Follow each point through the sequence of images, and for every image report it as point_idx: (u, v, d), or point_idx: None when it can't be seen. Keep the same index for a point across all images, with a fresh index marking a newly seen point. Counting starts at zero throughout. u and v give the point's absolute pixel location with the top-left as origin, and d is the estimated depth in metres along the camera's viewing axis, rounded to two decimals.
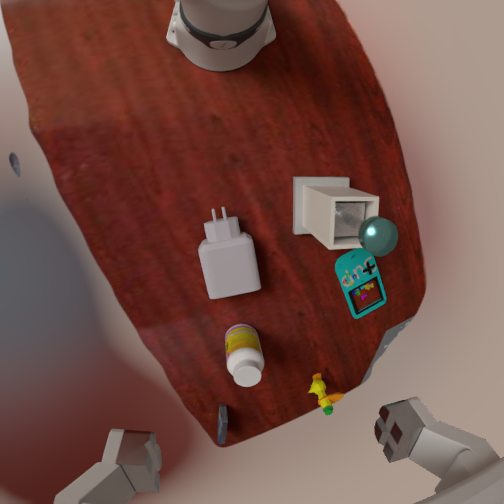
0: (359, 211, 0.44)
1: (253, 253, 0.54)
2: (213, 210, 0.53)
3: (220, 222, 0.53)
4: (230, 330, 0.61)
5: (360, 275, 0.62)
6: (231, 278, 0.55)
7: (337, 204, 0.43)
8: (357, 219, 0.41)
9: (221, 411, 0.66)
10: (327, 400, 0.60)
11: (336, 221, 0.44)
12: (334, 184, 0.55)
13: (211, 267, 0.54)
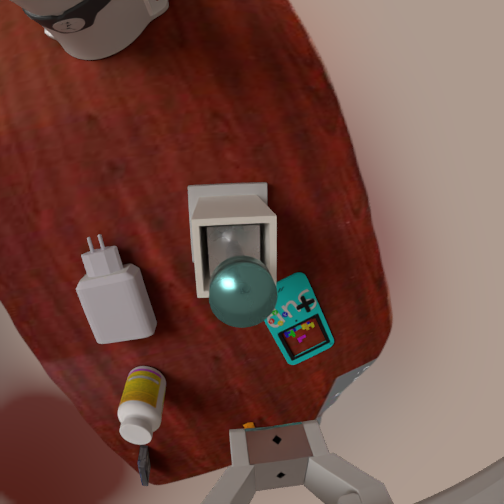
0: (250, 238, 0.30)
1: (136, 292, 0.40)
2: (88, 239, 0.39)
3: (95, 254, 0.39)
4: (130, 373, 0.47)
5: (294, 312, 0.48)
6: (114, 322, 0.41)
7: (212, 229, 0.29)
8: (233, 254, 0.27)
9: (140, 453, 0.52)
10: None
11: (213, 254, 0.30)
12: (244, 193, 0.40)
13: (90, 308, 0.40)
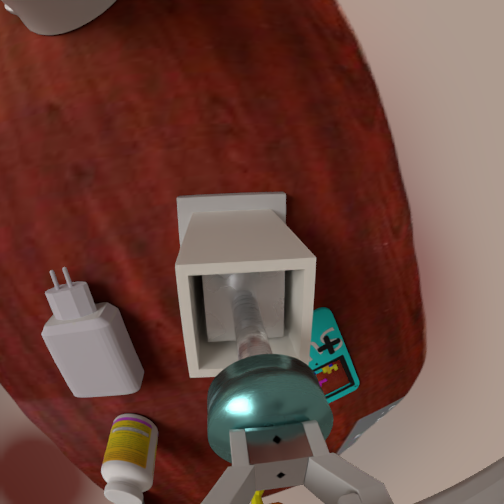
0: (271, 286, 0.19)
1: (114, 343, 0.30)
2: (51, 273, 0.28)
3: (61, 293, 0.28)
4: (115, 421, 0.36)
5: (314, 355, 0.37)
6: (91, 375, 0.30)
7: None
8: (246, 323, 0.16)
9: None
10: None
11: (212, 311, 0.19)
12: (255, 207, 0.30)
13: (60, 358, 0.29)
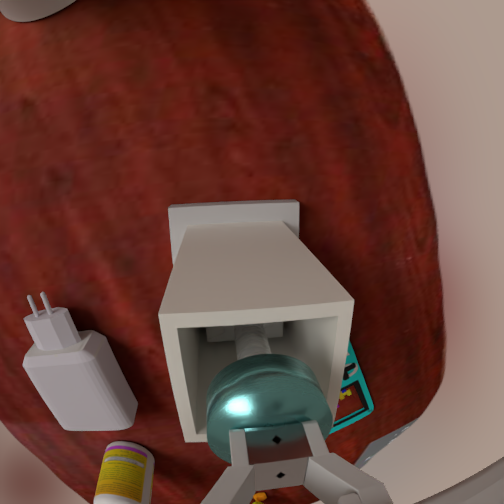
0: None
1: (102, 377, 0.25)
2: (29, 298, 0.24)
3: (40, 321, 0.23)
4: (108, 449, 0.31)
5: None
6: (78, 409, 0.25)
7: None
8: None
9: None
10: None
11: None
12: (262, 219, 0.25)
13: (44, 391, 0.24)
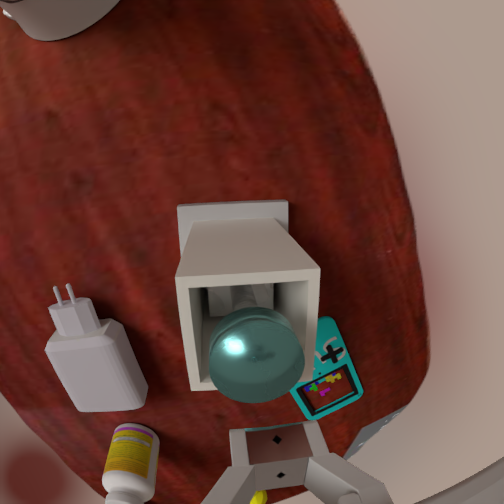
0: None
1: (119, 360, 0.29)
2: (55, 289, 0.28)
3: (64, 309, 0.28)
4: (116, 431, 0.35)
5: (317, 364, 0.36)
6: (95, 391, 0.30)
7: None
8: (240, 294, 0.20)
9: None
10: None
11: (213, 289, 0.23)
12: (257, 216, 0.29)
13: (64, 373, 0.29)
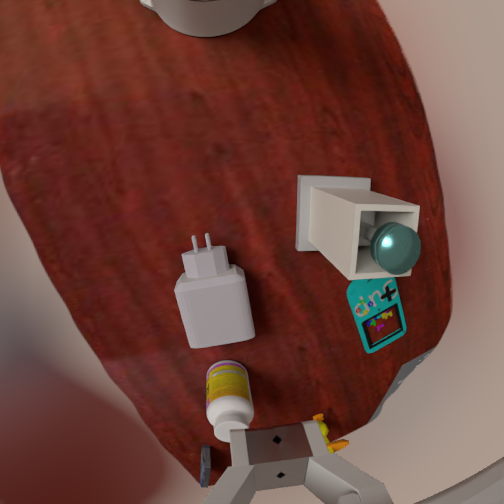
0: (369, 215, 0.35)
1: (245, 294, 0.41)
2: (193, 237, 0.40)
3: (202, 254, 0.40)
4: (213, 368, 0.47)
5: (378, 302, 0.48)
6: (217, 325, 0.42)
7: None
8: (367, 225, 0.32)
9: (203, 454, 0.52)
10: (330, 449, 0.46)
11: None
12: (351, 186, 0.41)
13: (191, 311, 0.41)
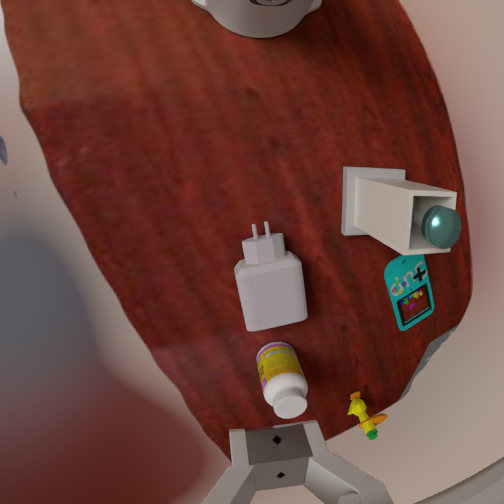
0: None
1: (301, 277, 0.45)
2: (254, 225, 0.43)
3: (263, 240, 0.43)
4: (264, 349, 0.51)
5: (410, 282, 0.51)
6: (274, 307, 0.45)
7: None
8: (412, 209, 0.35)
9: None
10: (371, 423, 0.50)
11: None
12: (389, 177, 0.44)
13: (251, 295, 0.44)
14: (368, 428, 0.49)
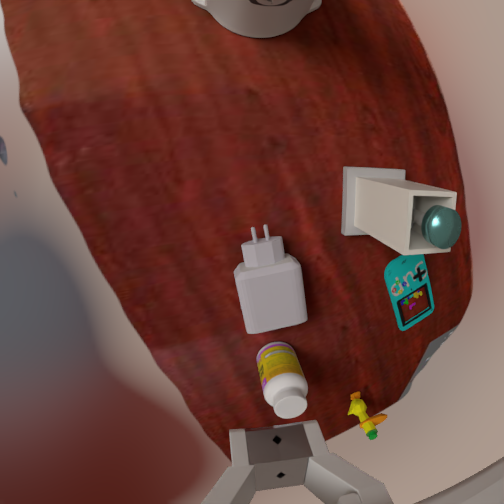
0: None
1: (301, 280, 0.45)
2: (253, 229, 0.43)
3: (262, 244, 0.43)
4: (264, 350, 0.51)
5: (410, 282, 0.51)
6: (274, 310, 0.45)
7: None
8: (412, 209, 0.35)
9: None
10: (371, 423, 0.50)
11: None
12: (389, 177, 0.44)
13: (251, 298, 0.44)
14: (368, 428, 0.49)
